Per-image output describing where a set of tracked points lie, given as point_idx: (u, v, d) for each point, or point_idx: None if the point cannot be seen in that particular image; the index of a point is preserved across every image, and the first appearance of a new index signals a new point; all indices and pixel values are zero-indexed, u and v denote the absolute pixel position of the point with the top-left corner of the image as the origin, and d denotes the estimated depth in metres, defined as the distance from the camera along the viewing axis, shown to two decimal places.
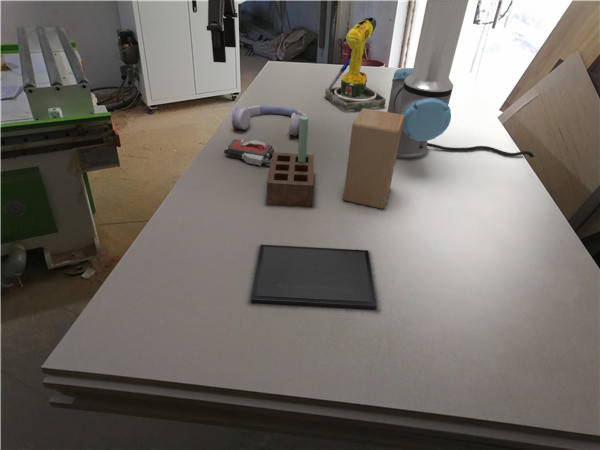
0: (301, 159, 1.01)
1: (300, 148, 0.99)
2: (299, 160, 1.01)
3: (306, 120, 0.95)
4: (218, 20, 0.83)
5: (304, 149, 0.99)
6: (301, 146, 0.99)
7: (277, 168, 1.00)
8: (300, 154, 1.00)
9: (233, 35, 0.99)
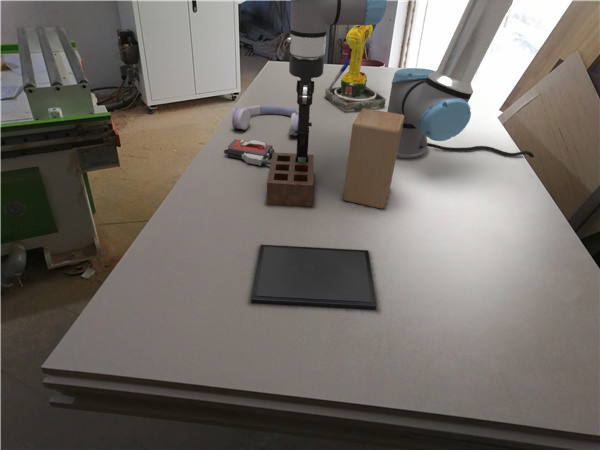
0: (301, 159, 1.01)
1: None
2: (299, 160, 1.01)
3: None
4: (307, 129, 0.92)
5: None
6: None
7: (277, 168, 1.00)
8: None
9: None
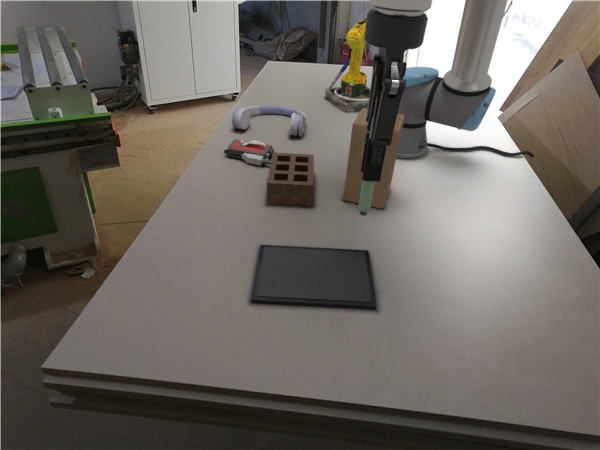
0: (368, 184, 0.64)
1: None
2: (365, 185, 0.64)
3: None
4: (390, 137, 0.55)
5: None
6: None
7: (277, 168, 1.00)
8: None
9: None
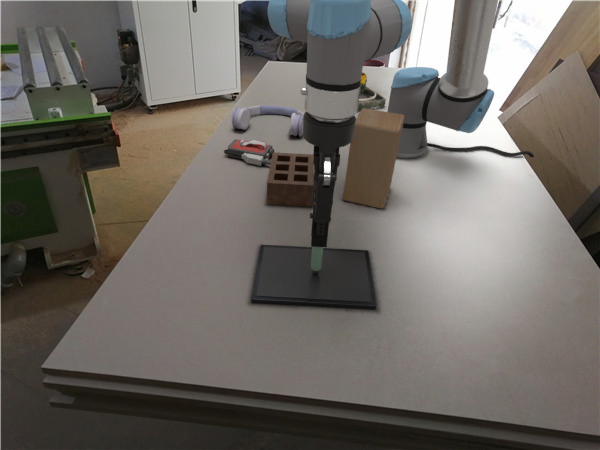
0: (317, 248, 0.72)
1: None
2: (314, 249, 0.72)
3: None
4: (329, 217, 0.63)
5: None
6: None
7: (277, 168, 1.00)
8: None
9: None
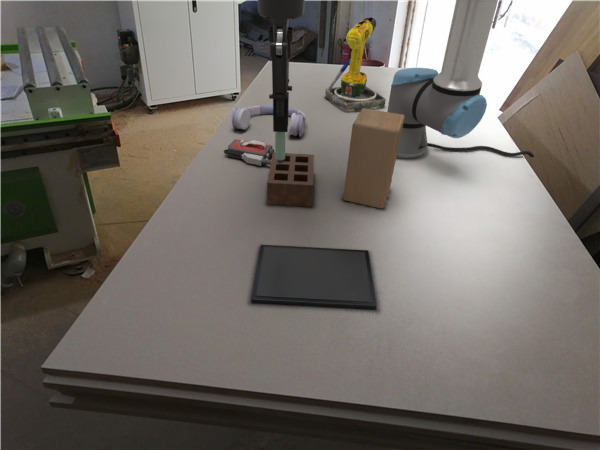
0: (279, 134, 0.78)
1: None
2: (277, 136, 0.78)
3: None
4: (285, 92, 0.69)
5: None
6: None
7: (277, 168, 1.00)
8: None
9: None
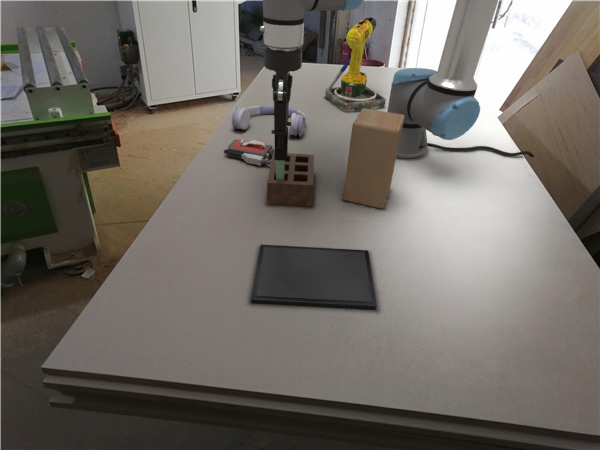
0: (279, 162, 0.91)
1: None
2: (277, 163, 0.92)
3: None
4: (284, 129, 0.82)
5: None
6: None
7: None
8: None
9: None
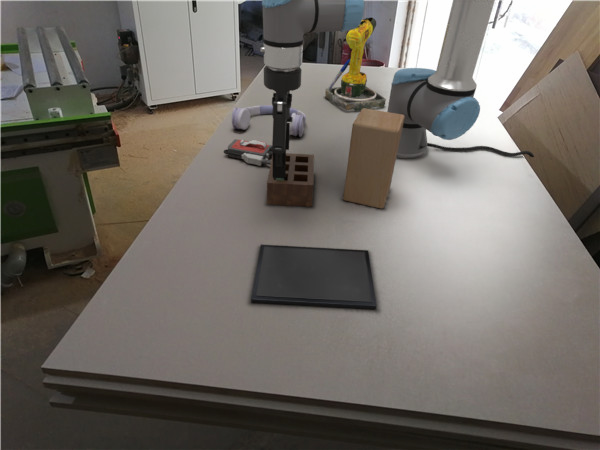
0: None
1: None
2: (277, 178, 0.94)
3: None
4: (283, 145, 0.79)
5: None
6: None
7: None
8: None
9: (287, 139, 0.96)
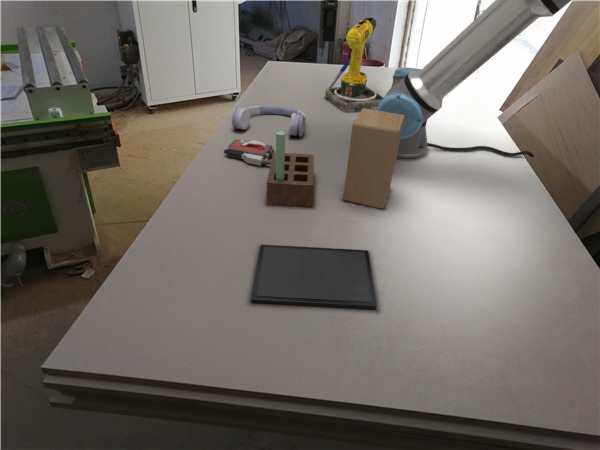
0: (279, 177, 0.93)
1: (277, 166, 0.92)
2: (277, 178, 0.94)
3: (283, 136, 0.88)
4: None
5: (282, 166, 0.92)
6: (278, 163, 0.91)
7: None
8: (278, 171, 0.93)
9: None
